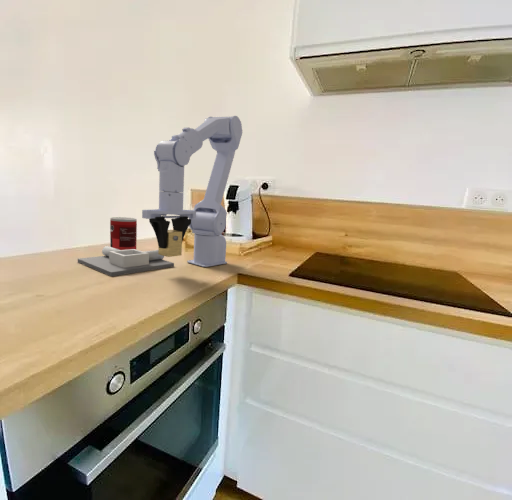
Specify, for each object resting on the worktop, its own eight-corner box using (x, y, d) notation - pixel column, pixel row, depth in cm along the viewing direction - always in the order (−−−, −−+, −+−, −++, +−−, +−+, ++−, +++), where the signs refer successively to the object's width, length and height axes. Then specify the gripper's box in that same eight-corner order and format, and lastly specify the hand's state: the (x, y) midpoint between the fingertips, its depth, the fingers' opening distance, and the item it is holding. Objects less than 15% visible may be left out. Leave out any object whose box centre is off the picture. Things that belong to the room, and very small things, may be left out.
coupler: (170, 252, 83) (171, 229, 82) (182, 255, 80) (182, 231, 79) (157, 254, 79) (158, 230, 78) (168, 257, 77) (169, 232, 76)
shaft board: (138, 255, 100) (138, 242, 99) (174, 266, 89) (174, 252, 88) (77, 262, 86) (77, 247, 85) (111, 276, 75) (111, 259, 74)
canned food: (118, 249, 107) (118, 216, 105) (140, 251, 106) (141, 218, 104) (105, 253, 100) (104, 218, 98) (128, 255, 99) (129, 220, 97)
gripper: (184, 192, 85) (183, 242, 87) (134, 189, 74) (134, 247, 76) (202, 194, 81) (200, 246, 83) (152, 191, 69) (151, 251, 72)
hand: (170, 247), depth 79 cm, fingers closed on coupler, 4 cm apart
